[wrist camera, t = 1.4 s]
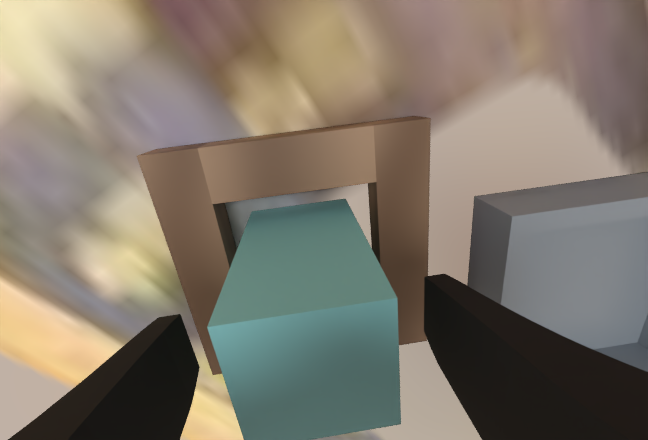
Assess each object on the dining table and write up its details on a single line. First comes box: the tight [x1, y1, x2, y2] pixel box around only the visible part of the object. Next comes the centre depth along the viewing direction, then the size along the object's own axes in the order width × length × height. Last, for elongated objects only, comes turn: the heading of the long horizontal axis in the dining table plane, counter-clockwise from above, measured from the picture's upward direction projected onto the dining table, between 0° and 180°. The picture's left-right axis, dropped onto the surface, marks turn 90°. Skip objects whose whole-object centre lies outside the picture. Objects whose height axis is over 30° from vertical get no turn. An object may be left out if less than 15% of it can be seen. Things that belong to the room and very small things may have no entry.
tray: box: [468, 172, 648, 372], centre depth 14 cm, size 11×11×2 cm
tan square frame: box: [137, 116, 431, 375], centre depth 13 cm, size 10×10×2 cm
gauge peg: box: [207, 199, 401, 440], centre depth 10 cm, size 4×4×7 cm
